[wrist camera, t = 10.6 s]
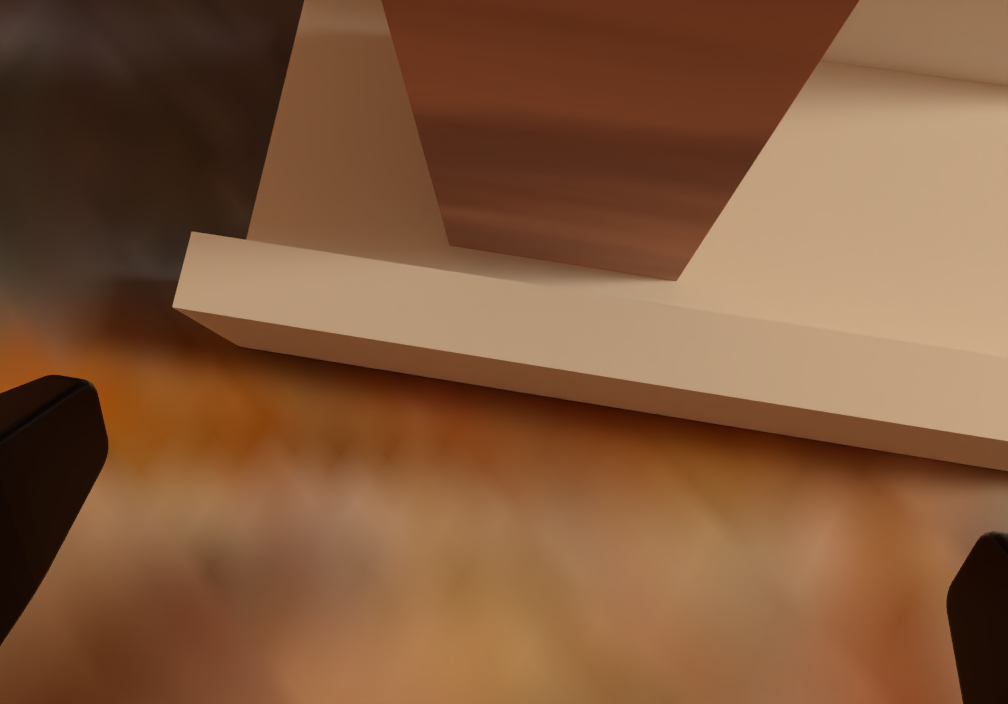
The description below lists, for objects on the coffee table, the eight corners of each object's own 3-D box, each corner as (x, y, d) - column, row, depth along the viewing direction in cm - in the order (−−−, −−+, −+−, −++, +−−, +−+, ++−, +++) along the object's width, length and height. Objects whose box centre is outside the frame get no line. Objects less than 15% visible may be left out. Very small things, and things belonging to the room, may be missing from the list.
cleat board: (1093, 485, 17) (2074, 434, 6) (238, 346, 18) (-180, 100, 7) (1103, 30, 19) (1846, -591, 8) (338, -70, 20) (125, -733, 9)
